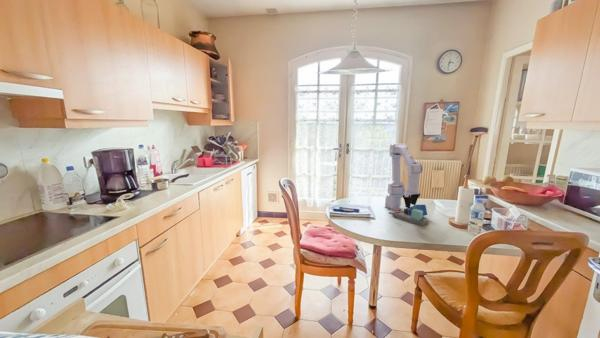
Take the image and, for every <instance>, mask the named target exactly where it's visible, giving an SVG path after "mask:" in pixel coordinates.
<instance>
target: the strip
mask: <svg viewBox="0 0 600 338" xmlns="http://www.w3.org/2000/svg"><path fill="white" fill-rule="evenodd" d="M388 214H389V215H392V217H394V218H397V219H399V220H402V221H406V222H408V223H412V224H414V225H416V226H420V227H424V226H425V225H427V224H428V223H429V222H428V219H427V218H424V217H423V218H422V220H421V221H417V220H414V219H411V214H407V213H404V211H401V210H394V212H390V211H389V212H388Z"/></svg>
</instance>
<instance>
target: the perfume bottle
mask: <svg viewBox="0 0 600 338" xmlns="http://www.w3.org/2000/svg"><path fill="white" fill-rule="evenodd" d="M413 209H418V210H421V211H423V217H424V216H428V212H427V211H428V210H427V206H426V204H415V205H412V206H411V205H410V208H406V207H405V208H403V212H404V213H407V214H411V213H412V210H413Z"/></svg>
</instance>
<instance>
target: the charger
mask: <svg viewBox="0 0 600 338" xmlns="http://www.w3.org/2000/svg"><path fill="white" fill-rule="evenodd" d="M422 218H424V216H423V211H421V210H418V209H413V210H412V213H411V219H414V220H417V221H421V220H422Z"/></svg>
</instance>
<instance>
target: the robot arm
mask: <svg viewBox="0 0 600 338" xmlns="http://www.w3.org/2000/svg"><path fill="white" fill-rule="evenodd" d="M408 146H409V145H408V144H407V143H391V144H390V146H389V156H390V157H391V177H392V179H391V180H392V181H391V182H389V183H388V186H387V193H388V194H386V196H385V204H384V208H385V209H386V208H387V209H391V210H394V211H400V210H401V209H404V208H403V206H402V205H401V204H402V198H403V201H404V204H405V208H410V207H411V205H412V206H414V205H417V201H418V199H419V198H420V196H421V193H420V189H419V181H420V174H422V172H423V165H422V163H419V162H417V161H416V159H415V158H414V156H413V155H410V153H409V151H408V148H409V147H408ZM401 157H402V158H404V159H403V163H404V164H405V165H406V171H407V176H408V177H407V186H406V188H405V184H404V183H403V182H401Z"/></svg>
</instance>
